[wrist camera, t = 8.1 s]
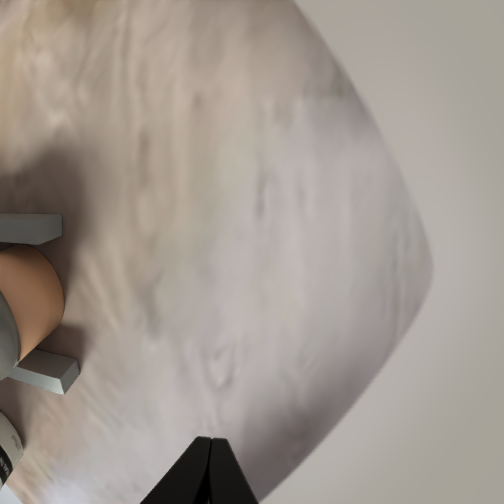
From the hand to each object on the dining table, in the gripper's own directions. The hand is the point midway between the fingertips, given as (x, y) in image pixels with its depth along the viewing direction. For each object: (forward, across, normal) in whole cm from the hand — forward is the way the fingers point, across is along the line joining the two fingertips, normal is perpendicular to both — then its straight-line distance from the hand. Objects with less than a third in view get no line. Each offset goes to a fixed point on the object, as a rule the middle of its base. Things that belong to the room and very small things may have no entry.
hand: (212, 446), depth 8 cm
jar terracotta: (+10, +13, 0) cm, 16 cm away
